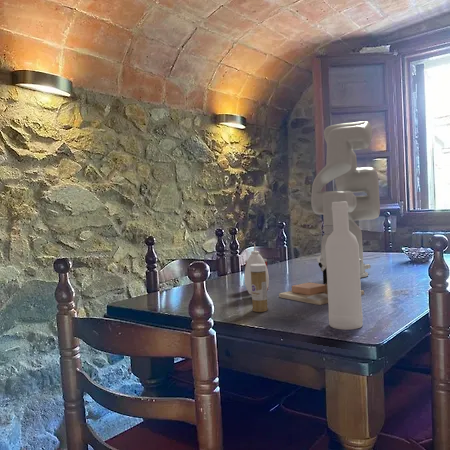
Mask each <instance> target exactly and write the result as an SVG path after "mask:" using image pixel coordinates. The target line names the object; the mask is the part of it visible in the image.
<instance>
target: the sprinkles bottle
mask: <svg viewBox="0 0 450 450" xmlns="http://www.w3.org/2000/svg"><path fill="white" fill-rule="evenodd" d="M250 271H251V285H252V295H251V299H252V300H251V301H252V311H253V312H255V313H263V312H267V311H268V310H269V307H268V293H267V292H268V290H267V287H266V265H265V264H251V265H250Z"/></svg>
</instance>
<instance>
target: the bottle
mask: <svg viewBox="0 0 450 450" xmlns="http://www.w3.org/2000/svg"><path fill="white" fill-rule="evenodd" d="M332 213H333V232H332V233H331V234H330V235H329V237H328V238H327V241H326V245H325V249H326V269H327V288H328V303H327V304H328V323H329V324H328V325H329V327H331V328H333V329H335V330H345V331H349V330H357V329H360V328H362V327H363V325H364V324H363V319H364V316H363V306H362V305H363V304H362V295H361V290H362V283H361V278H360V261H359V244H358V241H357V239H356V237H355V235H353V234H352V233H351V232H350V231H349V222H348V202H346V201H344V202H333V203H332Z"/></svg>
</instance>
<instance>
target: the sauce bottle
mask: <svg viewBox="0 0 450 450" xmlns="http://www.w3.org/2000/svg"><path fill="white" fill-rule="evenodd" d="M253 245H254V246H253V247H254V248H253V251H250V253H251V254H250V255H249V257H248V258H247V260H248V261H247V264H246V266H245V267H244V284H245V288H246V291H247V292H248V294H249V295H251V296H252V285H251V271H250V265H251V264H265V262H264V260H263V259H264V258H263V257H262V255H261V254H260V251H258V250H257V249H256V247H257V246H256V244H255V242H254V244H253ZM265 265H266V264H265ZM269 276H270V275H269V271H268V265H267V266H266V287H267V289H268V290H269V285H270V283H269V282H270V279H269V278H270V277H269Z"/></svg>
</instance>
